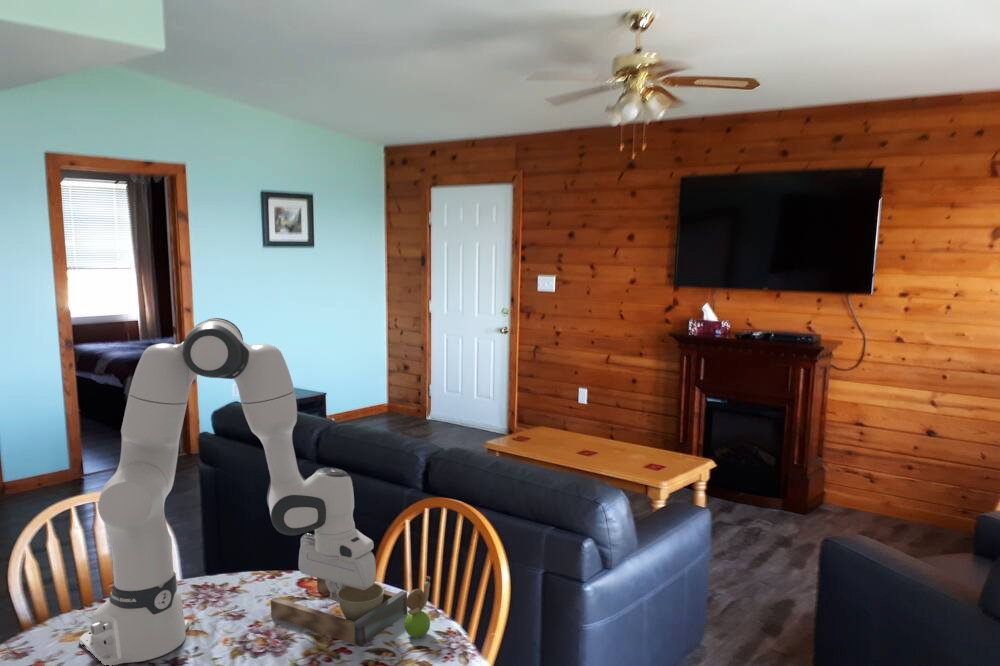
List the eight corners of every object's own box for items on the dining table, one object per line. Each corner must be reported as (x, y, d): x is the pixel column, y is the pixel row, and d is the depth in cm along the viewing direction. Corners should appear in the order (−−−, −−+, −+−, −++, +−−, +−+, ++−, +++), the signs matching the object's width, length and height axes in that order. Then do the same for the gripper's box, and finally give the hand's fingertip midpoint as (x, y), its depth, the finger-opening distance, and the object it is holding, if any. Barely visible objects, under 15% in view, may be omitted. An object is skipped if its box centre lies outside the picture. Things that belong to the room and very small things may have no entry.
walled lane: (271, 617, 159) (270, 595, 159) (321, 588, 173) (321, 569, 172) (360, 646, 146) (360, 623, 146) (407, 613, 160) (406, 592, 160)
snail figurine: (439, 633, 151) (437, 579, 150) (416, 645, 146) (415, 590, 145) (421, 625, 155) (420, 572, 154) (399, 636, 150) (397, 582, 149)
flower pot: (373, 636, 150) (372, 604, 149) (330, 631, 153) (329, 599, 152) (391, 614, 160) (391, 583, 159) (351, 609, 162) (350, 579, 161)
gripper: (290, 536, 161) (293, 594, 162) (360, 553, 151) (362, 615, 152) (310, 527, 166) (312, 583, 167) (379, 543, 156) (381, 602, 158)
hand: (337, 599), depth 160 cm, fingers closed
